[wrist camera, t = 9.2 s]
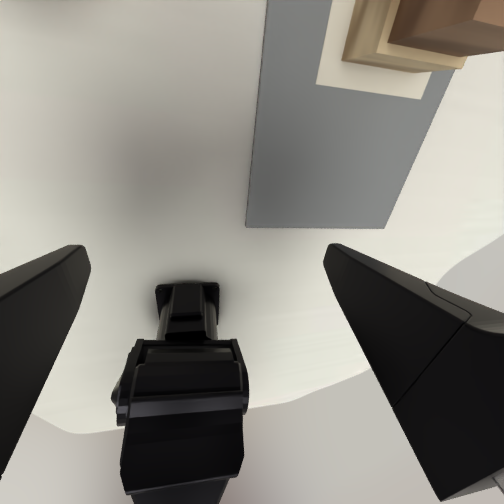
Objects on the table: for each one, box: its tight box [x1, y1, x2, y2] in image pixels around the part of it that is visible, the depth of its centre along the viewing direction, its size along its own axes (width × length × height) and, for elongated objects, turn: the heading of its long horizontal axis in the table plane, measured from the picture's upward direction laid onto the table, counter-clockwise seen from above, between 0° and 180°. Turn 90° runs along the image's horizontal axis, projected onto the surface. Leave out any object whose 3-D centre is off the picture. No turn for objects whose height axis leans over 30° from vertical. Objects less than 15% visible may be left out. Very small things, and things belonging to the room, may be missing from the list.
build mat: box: [245, 0, 455, 229], centre depth 18 cm, size 22×15×1 cm
